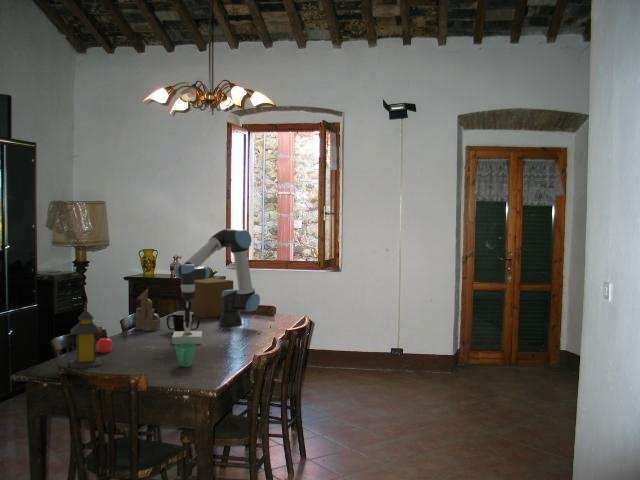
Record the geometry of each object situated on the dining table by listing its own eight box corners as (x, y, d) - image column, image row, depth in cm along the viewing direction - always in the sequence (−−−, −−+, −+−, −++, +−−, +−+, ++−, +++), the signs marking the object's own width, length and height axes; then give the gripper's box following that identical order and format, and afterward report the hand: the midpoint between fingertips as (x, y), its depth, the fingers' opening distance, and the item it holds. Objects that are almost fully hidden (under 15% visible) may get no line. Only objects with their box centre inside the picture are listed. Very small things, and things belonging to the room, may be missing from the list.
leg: (191, 335, 348) (191, 311, 347) (191, 337, 343) (191, 313, 343) (183, 336, 347) (184, 311, 346) (183, 337, 343) (183, 313, 342)
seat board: (202, 337, 354) (202, 331, 354) (201, 343, 339) (201, 336, 338) (174, 338, 352) (174, 331, 352) (171, 344, 336) (172, 337, 336)
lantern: (70, 368, 280) (70, 304, 279) (69, 361, 293) (69, 300, 292) (102, 366, 286) (102, 303, 285) (100, 359, 299) (100, 299, 298)
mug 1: (177, 336, 358) (177, 316, 357) (164, 331, 370) (164, 312, 369) (201, 333, 369) (201, 313, 368) (188, 328, 381) (188, 310, 380)
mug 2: (177, 363, 294) (177, 342, 294) (197, 363, 295) (197, 343, 294) (170, 370, 280) (170, 349, 279) (192, 371, 280) (192, 349, 280)
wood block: (184, 314, 435) (184, 279, 434) (212, 310, 453) (212, 277, 452) (205, 318, 418) (205, 283, 417) (233, 314, 436) (233, 280, 435)
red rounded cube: (96, 350, 317) (96, 335, 317) (112, 349, 320) (112, 334, 320) (96, 354, 310) (96, 338, 309) (113, 353, 313) (113, 337, 313)
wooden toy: (160, 328, 379) (161, 289, 378) (156, 330, 373) (156, 290, 372) (137, 327, 382) (137, 288, 381) (132, 329, 375) (132, 289, 374)
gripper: (182, 289, 352) (181, 329, 353) (180, 293, 335) (179, 335, 336) (195, 289, 353) (194, 329, 354) (193, 293, 336) (193, 335, 337)
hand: (187, 332), depth 345 cm, fingers closed on leg, 4 cm apart
